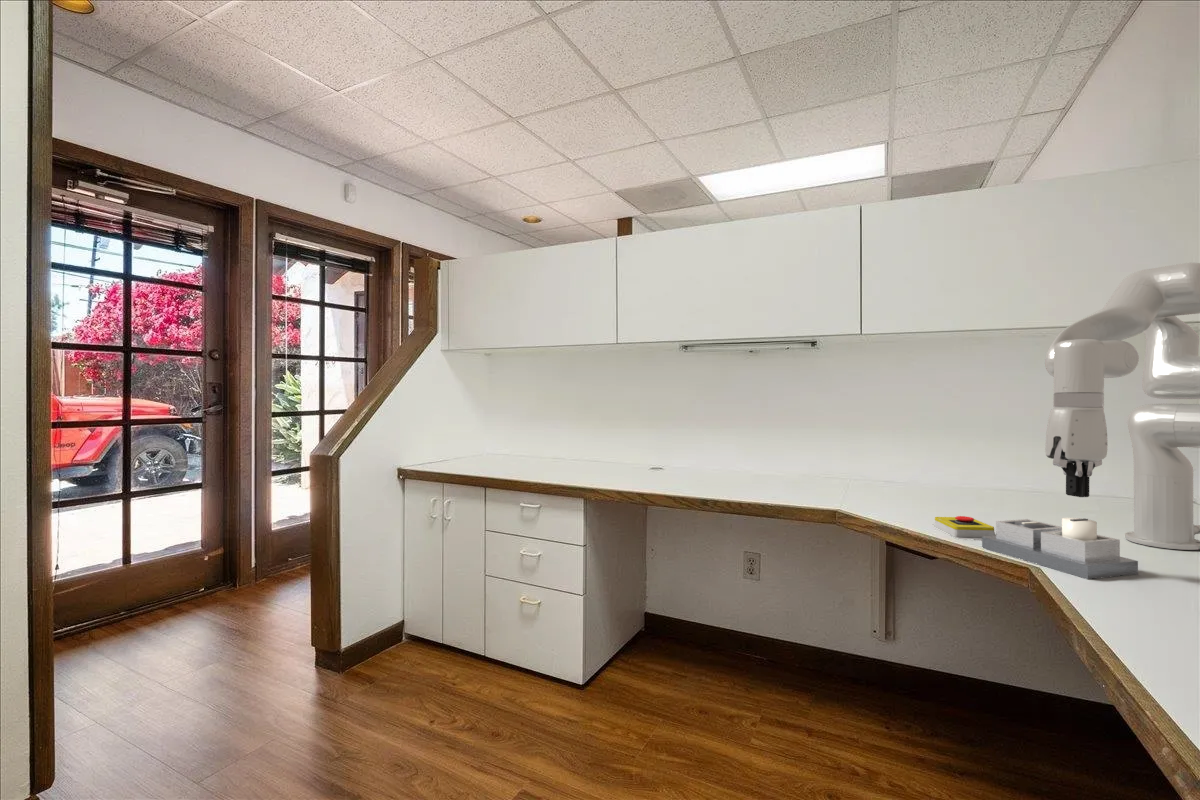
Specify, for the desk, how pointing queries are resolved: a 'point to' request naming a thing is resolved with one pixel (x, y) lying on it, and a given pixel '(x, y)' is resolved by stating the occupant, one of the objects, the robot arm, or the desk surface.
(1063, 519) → the knob ivory
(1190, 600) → the desk surface
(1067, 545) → the mount
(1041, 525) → the knob black
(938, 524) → the emergency button
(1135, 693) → the desk surface
